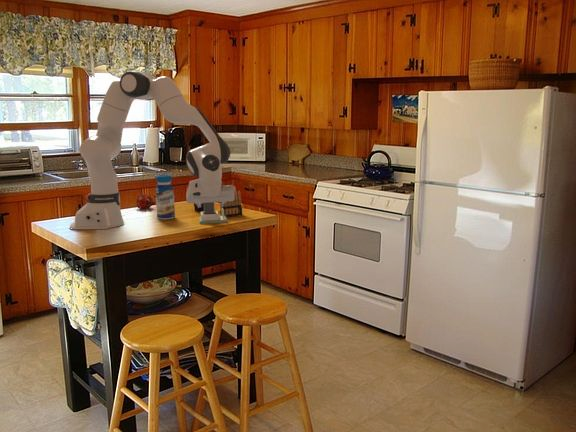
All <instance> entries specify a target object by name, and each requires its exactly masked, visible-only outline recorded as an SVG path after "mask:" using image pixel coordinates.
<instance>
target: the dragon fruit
mask: <svg viewBox="0 0 576 432" xmlns="http://www.w3.org/2000/svg"><path fill="white" fill-rule="evenodd" d="M135 202H136V207H137V209H141V210H144V211H146V210H147V209H150V208H151V207H152V206H154V205H156V201H154V200H153V198H152V196H151V195H150V194H147V193H143V192H141V193H140V194H139V195H138V196H137V197H136V198H135Z"/></svg>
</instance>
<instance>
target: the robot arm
mask: <svg viewBox="0 0 576 432" xmlns="http://www.w3.org/2000/svg"><path fill="white" fill-rule="evenodd" d="M136 99H137V100H140V101H141V100H147V101H155V103H156V104H157V107H158V109H159V111H160V114H161V115H162V117H163V118H164V119H165V121H167V122H169V123H173V124H177V125H192V126H196V127H198V128H199V129H200V132H202V134H203V135H204V137H205V138H206V139H207V140H208V143H205V144H203V145H201V146H197V147H195V148H192V149H190V150H189V151H187V153H186V155H185V156H186V157H185V164H186V167H187V169H188V171H189V172H190V173H191V174H192V175H193V176H195V177H197V179H194V180H193V179H192V180H190V181H188V182H189V183H188V187H187V188H186V189H187V190H186V193H185V194H186V195H185V196H186V198H185V199H186V203H187V204H194V203H195V204H196V205H197V206H198V208H199V207H201V203H208V202H214V203H219V207H221V206H223V204H225V203H226V202H227V201H233V200H234V199H235V190H236V189H237V188H236V186H235V185H233V184H229V185H228V184H227V185H226V184H223V183H222V182H223V181H222V178H223V177H222V176H223V170H222V169H223V167H222V165H223V164H225V163H228V161H229V159H230V157H231V153H232V152H231V148H230V147H229V144H228V143H226V140H224V139H223V138H222V137H221V135H220V134H219V133H218V132H217V131H216V129H215V127H214V126H213V125H212V123H211V122H210V121H209V119H208V118H207V117H206V116H205V114H204V113H203V112H202V111H201V109H200V108H198V107H196V106H193V105H191V104H190V103H189V102H188V101H187V100H186V98H185V97H184V95H183V93H182V91H181V90H180V88H179V87H178V85H177V84H176V83H175V81H174V80H173V79H172V78H171V77H169V76H165V75H163V76H160V77H158V76H156V75H155V74H151V73H149V72H144V71H137V70H129V71H125V72H124V73H123V74H122V75H121V77H120V79H115V80H113V81H112V82H111V83H110V85H109V87H108V89H107V91H106V93H105V95H104V98H103V100H102V103H101V105H100V109H99V112H98V115H97V117H96V118H97V119H96V121H97V129H96V130H97V132H96V135H93V136H89V137H88V138H86V139H84V140H83V141H82V143H81V144H80V146H79V154H80V156H81V157H82V159H83V160H84V162H85V165H86V167H87V171H88V174H89V179H90V190H91V191H90V192H91V193H88V194H87V195H86V201H87V203H85V204H84V205H83V206H82V207H81V208H79V210H77V211H76V212H75V216H74V217H75V218H74V222H72V223H70V225H69V229H70V228H72V229H71V230H107V229H111V228H116V227H120V226H123V225H124V224H125V221H124V218H123V215H122V210H121V195H120V192H119V187H118V186H119V184H118V175H117V172H116V171H115V169H114V166H113V162H112V160H113V159H114V158H116V157H117V156H118V155H119V154H120V153H121V151H122V138H123V137H122V136H123V131H124V126H125V124H126V121H127V117H128V115H129V112H130V109H131V107H132V104H133V102H134V101H135V100H136ZM236 191H237V190H236Z"/></svg>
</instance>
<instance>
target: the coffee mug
mask: <svg viewBox="0 0 576 432" xmlns="http://www.w3.org/2000/svg"><path fill="white" fill-rule="evenodd" d="M193 208H194V211H195V212H204V203H201V207H199V208H198V206H197V205H196V204H195V203H193Z"/></svg>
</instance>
